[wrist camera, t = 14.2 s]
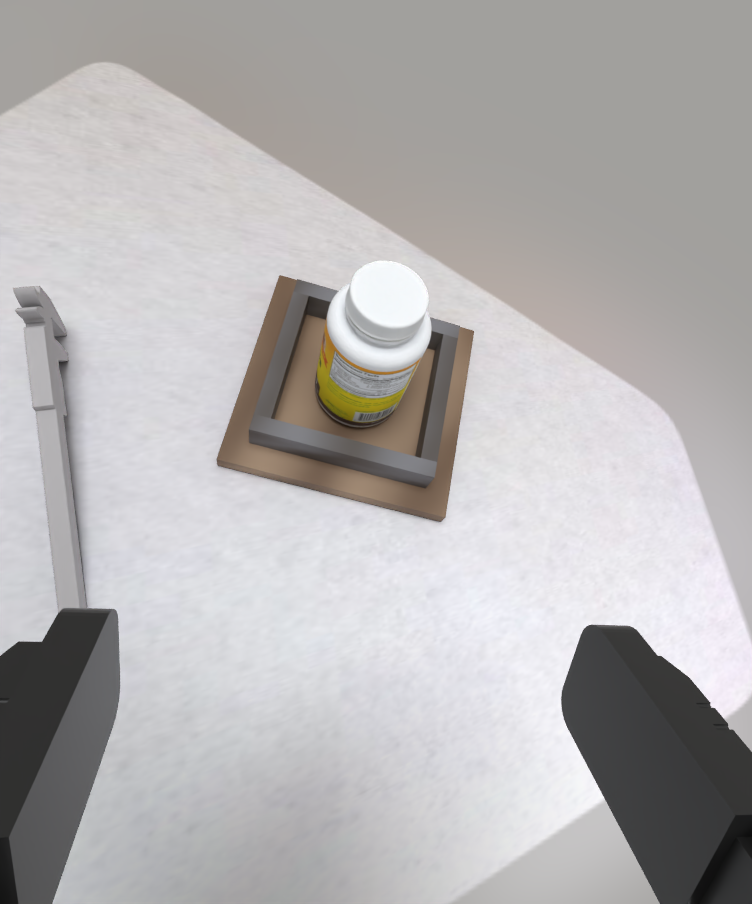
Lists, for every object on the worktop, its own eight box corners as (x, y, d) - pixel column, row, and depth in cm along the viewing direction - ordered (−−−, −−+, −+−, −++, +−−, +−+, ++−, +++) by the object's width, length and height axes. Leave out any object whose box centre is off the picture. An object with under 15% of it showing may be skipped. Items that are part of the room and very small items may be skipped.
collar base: (217, 465, 35) (214, 446, 32) (279, 284, 40) (280, 255, 38) (440, 521, 36) (455, 507, 33) (469, 338, 42) (484, 314, 39)
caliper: (48, 333, 36) (9, 265, 30) (68, 331, 36) (32, 264, 31) (71, 672, 29) (26, 668, 24) (94, 666, 30) (56, 661, 24)
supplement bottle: (344, 339, 38) (373, 227, 29) (414, 385, 38) (465, 287, 29) (295, 398, 36) (309, 296, 27) (368, 448, 36) (409, 362, 26)
